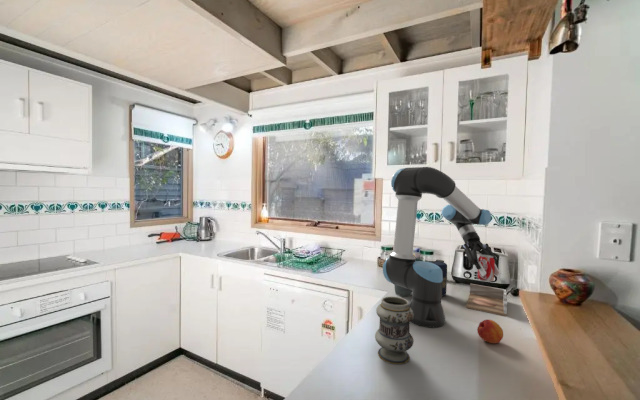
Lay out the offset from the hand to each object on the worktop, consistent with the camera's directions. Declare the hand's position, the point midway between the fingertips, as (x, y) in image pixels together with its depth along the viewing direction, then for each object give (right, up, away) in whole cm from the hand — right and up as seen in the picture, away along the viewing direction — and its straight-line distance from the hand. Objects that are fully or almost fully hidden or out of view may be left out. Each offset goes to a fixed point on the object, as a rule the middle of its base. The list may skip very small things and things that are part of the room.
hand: (491, 274), depth 138 cm
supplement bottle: (-7, -14, +44) cm, 47 cm away
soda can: (-1, -4, +4) cm, 5 cm away
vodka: (-37, -14, +16) cm, 43 cm away
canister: (-20, -15, +16) cm, 29 cm away
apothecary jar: (-58, -15, -44) cm, 74 cm away
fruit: (-20, -16, -33) cm, 41 cm away
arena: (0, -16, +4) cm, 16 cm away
